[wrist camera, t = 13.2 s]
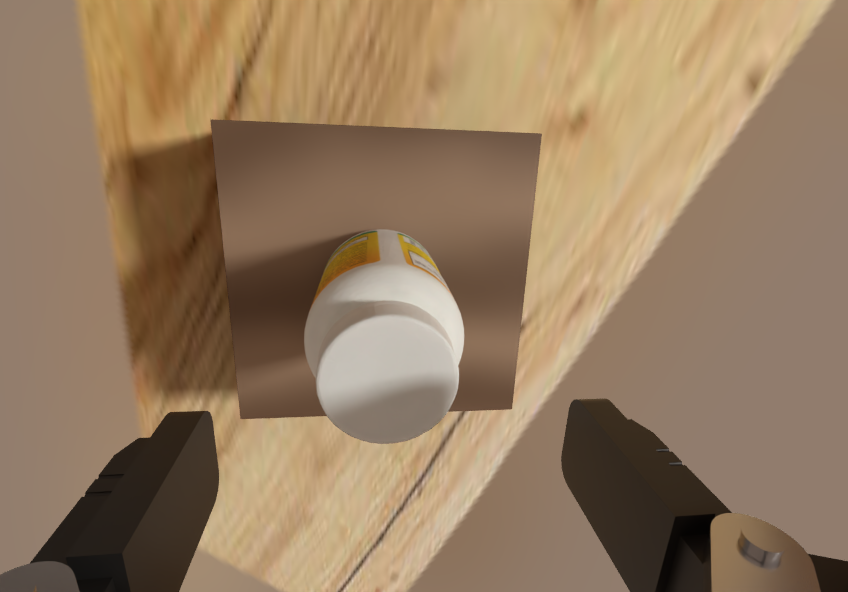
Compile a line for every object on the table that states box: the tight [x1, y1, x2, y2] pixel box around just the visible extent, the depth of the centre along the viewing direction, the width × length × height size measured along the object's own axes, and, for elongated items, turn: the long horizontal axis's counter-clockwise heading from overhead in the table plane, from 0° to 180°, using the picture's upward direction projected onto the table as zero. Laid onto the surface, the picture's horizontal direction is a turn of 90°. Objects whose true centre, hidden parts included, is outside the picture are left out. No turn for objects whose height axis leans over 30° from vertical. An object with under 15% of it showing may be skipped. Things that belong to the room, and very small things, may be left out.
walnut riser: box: [211, 120, 542, 419], centre depth 25 cm, size 14×14×6 cm
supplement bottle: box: [304, 229, 464, 444], centre depth 17 cm, size 5×5×10 cm
